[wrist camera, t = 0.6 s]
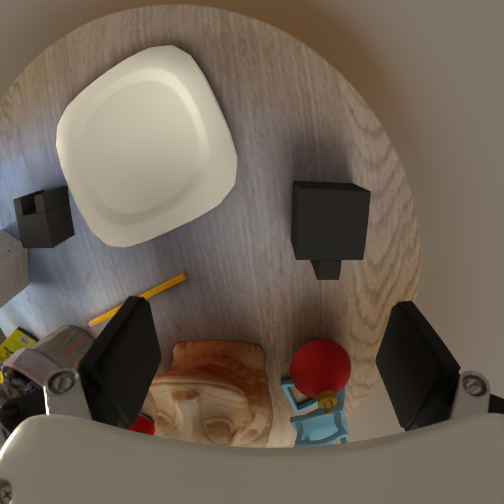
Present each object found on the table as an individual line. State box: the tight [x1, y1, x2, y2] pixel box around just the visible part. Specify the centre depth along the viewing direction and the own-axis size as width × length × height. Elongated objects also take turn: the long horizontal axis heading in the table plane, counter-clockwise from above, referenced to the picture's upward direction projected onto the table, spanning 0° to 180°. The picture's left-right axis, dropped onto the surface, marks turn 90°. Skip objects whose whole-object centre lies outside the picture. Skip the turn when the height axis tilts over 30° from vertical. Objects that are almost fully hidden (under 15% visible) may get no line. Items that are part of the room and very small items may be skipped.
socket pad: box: [14, 186, 75, 248], centre depth 24 cm, size 6×6×4 cm
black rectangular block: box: [291, 181, 371, 280], centre depth 24 cm, size 8×6×4 cm
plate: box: [56, 45, 238, 248], centre depth 23 cm, size 18×18×2 cm
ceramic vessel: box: [149, 340, 273, 448], centre depth 28 cm, size 14×26×15 cm, turn 3°
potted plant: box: [0, 325, 95, 410], centre depth 23 cm, size 18×20×25 cm
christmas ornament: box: [290, 339, 351, 414], centre depth 27 cm, size 7×7×10 cm
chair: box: [281, 379, 348, 447], centre depth 29 cm, size 8×8×12 cm
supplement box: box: [0, 327, 38, 383], centre depth 31 cm, size 6×6×11 cm
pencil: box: [86, 273, 187, 328], centre depth 30 cm, size 1×18×1 cm, turn 118°
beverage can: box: [129, 414, 155, 435], centre depth 35 cm, size 6×6×12 cm
